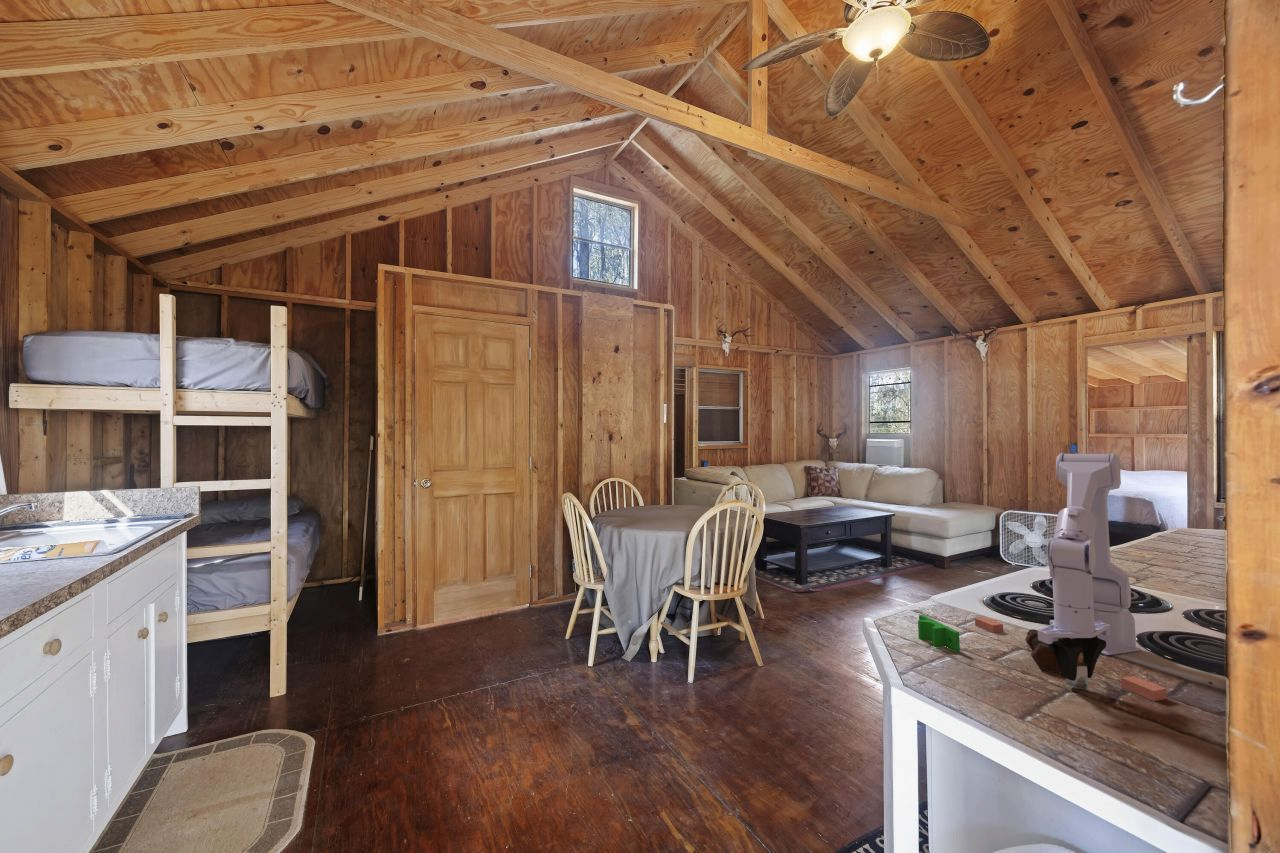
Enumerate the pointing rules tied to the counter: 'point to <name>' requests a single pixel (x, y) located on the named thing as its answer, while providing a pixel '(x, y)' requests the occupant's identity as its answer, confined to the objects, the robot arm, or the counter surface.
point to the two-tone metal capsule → (1080, 674)
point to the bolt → (1041, 652)
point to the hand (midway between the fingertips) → (1076, 676)
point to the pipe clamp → (938, 633)
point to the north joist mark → (1144, 688)
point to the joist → (989, 624)
